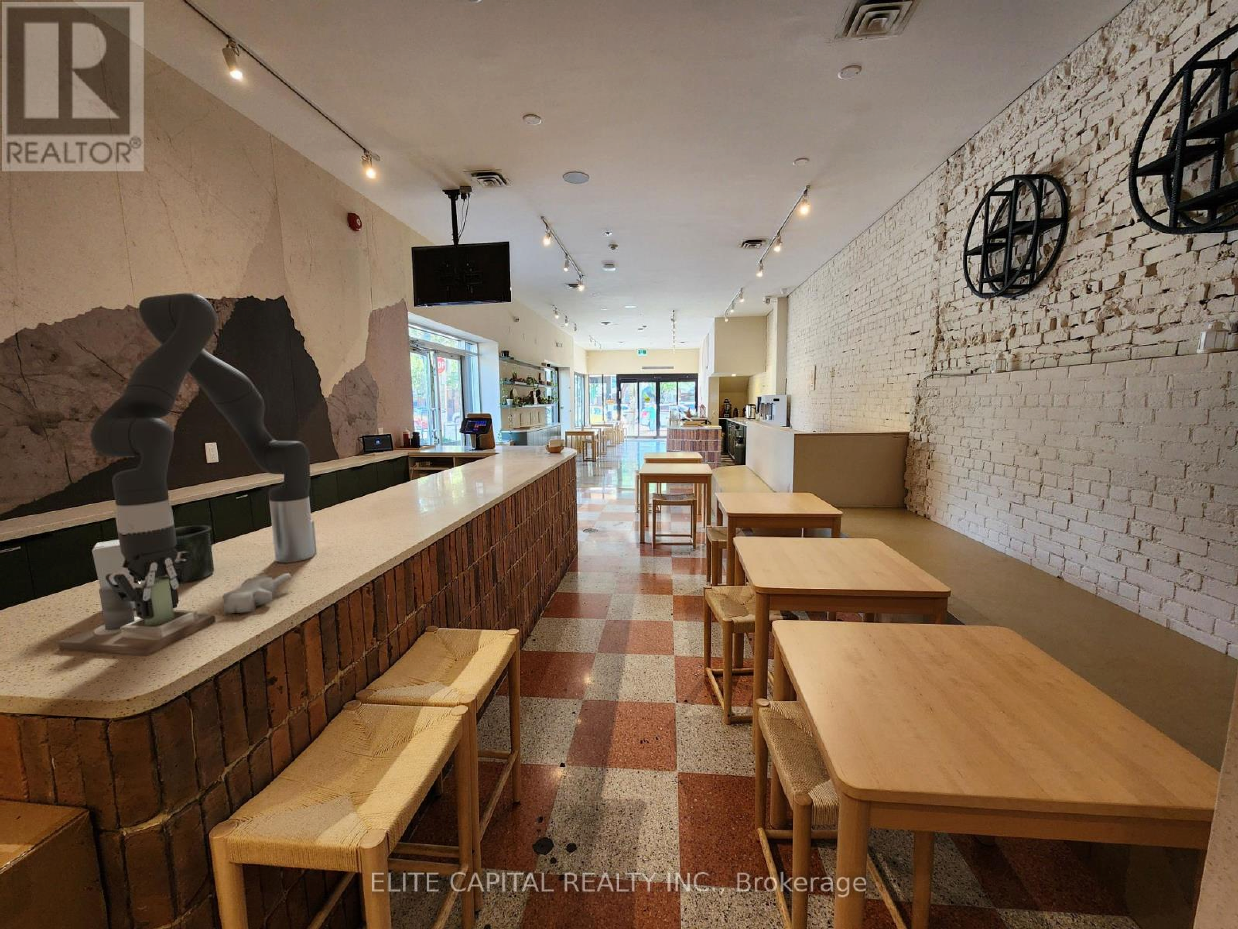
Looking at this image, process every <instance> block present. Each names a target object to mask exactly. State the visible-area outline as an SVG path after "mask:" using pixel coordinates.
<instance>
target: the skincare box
mask: <svg viewBox="0 0 1238 929" xmlns="http://www.w3.org/2000/svg"><path fill="white" fill-rule="evenodd" d="M91 552H92V556H93V562H94V567H95V571H96V574H97V576H96V577H97V578H98V584H99V589H100V588H102V587H104V586H108V585H109V583H108V582H107V580H106V579H105V577H106V575H108V574H114V573H116V572H117V571H119V570H120V569H122V568H123V563H124V560H125V558H124V556H123V555H122V553H121V550H120V543H119V539H112V540H108V541H100V542H97V543H96V544H95V545H94V546H93V549H92V550H91ZM128 576H129V578H130V580H128V581H129V582H130V584H131V577H132V576H131V575H130V574H128ZM141 582H144V581H141ZM132 606H133V610H134V609H136V607H135V602H133V601H132Z"/></svg>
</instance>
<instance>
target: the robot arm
mask: <svg viewBox="0 0 1238 929" xmlns="http://www.w3.org/2000/svg"><path fill="white" fill-rule="evenodd" d="M138 310H139V311H138V312H139V315H140V318H141V320H142V322H143V323H144V324H143V325H145V327H146V328H147V330H148V331H149V332H150V333H151V335H152V336H153V337H154V338H155V339H156V340H157V341H158V342H159V343H160V344H161V345H160V346H159V347H158V348H156V349H154V351H153V352H151V353H150V354H149V355H148V356H146V357H145V358H144V359H143V360H142V361H141V362H140V363H139V364H138V365H137V366H136V367H135V368H134V370H133V372H132V373H131V375H130V378H129V379H128V382H127V383H126V386H125V389H124V391H123V393H122V395H121V396H120V397H118V399H116V400H115V401H114V402H113V403H112V404H111V405H110V406H109V407H108V408H107V409H106V410H105V411H103V413H102V414H101V415H100V416H99V417H98V418H97V419H96V421H95V423H94V424H93V426H92V428H91V430H90V436H89V437H90V443H91V445H92V447H93V449H94V450H95V451H96V452H97V453H98V454H100V455H102V456H106V457H108V458H110V457H111V458H127V457H128V458H132V457H137V458H138V457H141V459H140V463H139V465H138V466H137V467H136V468H131V469H126V470H121V471H119V472H117V473H115V474H114V475H113V476H112V481H111V482H112V490H113V494H114V495H113V496H114V501H115V502H114V503H115V521H116V522H115V524H116V528H117V535H118V536H117V537H118V540H119V543H120V550H121V553H122V555H123V556H124V558H125V560H124V563H123V568H122V569H120V570H119V571H117V572H116V573H114V574H108V575H106V577H105V579H106V580H107V582H108V583H109V585H110V586H111V587H112V589H113V590H114V592H115V593H116V594H117V596H118V597H119V599H120V600H121V601H133V602H135V607H136V608H135V611H136V613H137V616H138V617H140V618H141V619H150V618H153V617H154V613H153V606H152V599H149V598H150V593H151V587H153V586H154V579H156V578H163V579H169V583H170V590H171V597H172V604H173V610H175V609H176V608H177V607H178V604H179V600H180V599H179V593H178V588H179V586H180V585H182V584H185V583H184V582H186V581H187V579H188V575H189V570H190V565H191V561H192V556H193V553H192V552H177V550H176V549H175V548H174V547H175V546H176V544H177V542H176V534H175V528H176V527H175V521H174V520H175V519H174V514H173V509H172V505H171V503H170V499H169V498H170V497H169V491H168V489H169V488H168V483H167V477H168V476H167V474H168V468H169V464H170V459H171V455H172V450H173V446H174V439H175V438H174V433H173V430H172V428H171V426H170V425H169V424H168V423H167V422H166V421H164V420H163V419H161V418H164V417H166V416H168V415H169V414H171V412H172V409H173V408H174V406H175V402H176V400H177V397H178V394H179V392H180V388H181V386H182V384H183V382H184V379H185V377H186V376H187V374H189V375H190V376H191V377H192V378H193V379H194V381H195V382H196V383H197V384H198V385H199V387H200V388H201V389H202V391H203V392H204V393H205V394H206V396H207V397H208V398H209V400H210V402H212V404H213V405H214V406H215V408H216V409H217V410H218V411H219V412H220V414H222V416H223V417H224V418H225V419H226V420H227V422H228V423H229V424H230V426H231V427H232V429H234V431H235V433H237V435H238V436H239V438H240V439H241V441H242V442H243V443H244V445H245V447H246V448H247V450H248V451H249V453H250V455H251V456H252V458H253V460H254V461H255V463H256V465H257V466H258V467H259V468H260V469H261V470H262V471H264V472H265V473H267V474H271V475H283V482H282V483H281V484H280V485H278V486H275V487H272V488H271V489H269V491H268V500H269V501H268V502H269V510H270V518H271V520H270V521H271V529H272V530H271V531H272V541H273V549H274V558H275V559H274V560H275V562H277V563H281V564H282V563H283V564H284V563H287V564H288V563H296V562H301V561H304V560H307V559H308V560H309V559H310V558H312V557H313V556H315V554H317V541H316V530H315V521H313V520H312V514H311V504H310V502H311V501H310V494H309V493H310V488H311V459H310V453H309V449H308V448H307V446H306V444H304V443H303V442H302V441H298V440H276V439H275V438H273V436H272V435H271V434H270V433H269V432H268V430H267V428H266V426H265V424H264V419H265V410H266V408H265V401H264V399H263V396H262V395H261V393H260V392H259V391H258V389H257V388H256V386H255V385H254V384H253V382H252V381H251V379H249V377H248V376H247V375H245V373H243V372H241V371H240V370H238V369H237V368H235V367H233V366H231V365H230V364H228V363H226V362H225V361H223V360H221V359H219V358H217V357H216V356H214V355H212V354H211V353H209V352H208V351H207V350H206V349H205V347H206V345H207V344H208V343H209V341H210V339H211V338H212V337H213V335H214V334H215V331H216V329H217V324H218V317H217V313H216V310H215V308H214V307H213V306H212V304H211V303H210V302H209V300H207V299H206V298H205V297H204V296H202V295H200V294H197V293H190V292H189V293H188V292H187V293H186V292H185V293H184V292H182V293H172V294H164V295H154V296H148V297H145V298H142V299H141V301H139V304H138ZM173 564H174V566H173ZM180 571H181V575H180ZM128 574H130V575H131V576H132V577H131V584H130V582H129V581H128V580H130V578H129V576H128ZM141 581H145V582H141ZM186 583H187V582H186ZM141 588H142V592H141Z"/></svg>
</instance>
